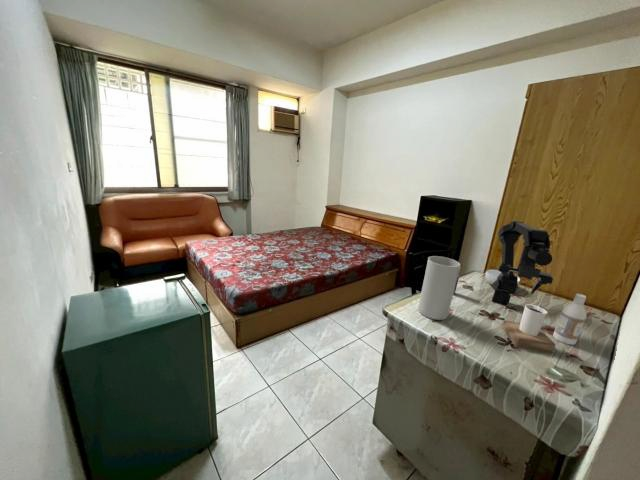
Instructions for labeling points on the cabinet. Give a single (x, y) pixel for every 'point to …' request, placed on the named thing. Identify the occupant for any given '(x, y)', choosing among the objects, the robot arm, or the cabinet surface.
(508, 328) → the walnut block
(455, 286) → the container
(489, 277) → the cereal bowl
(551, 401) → the cabinet surface
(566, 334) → the bath foam
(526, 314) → the white cup
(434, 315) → the cylinder vase
